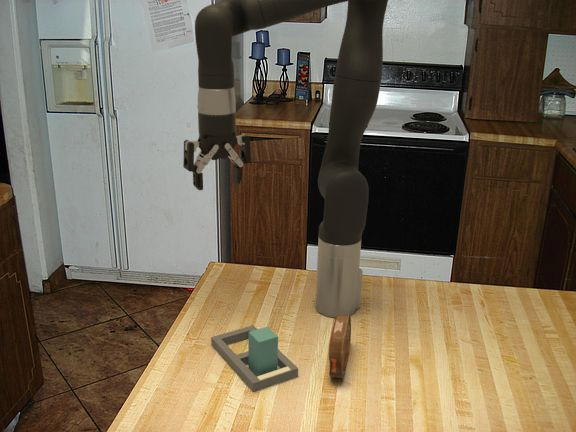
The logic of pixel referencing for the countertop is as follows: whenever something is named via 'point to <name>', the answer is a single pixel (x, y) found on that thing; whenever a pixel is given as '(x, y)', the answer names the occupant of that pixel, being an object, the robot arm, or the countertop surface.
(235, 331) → the frame
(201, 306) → the countertop surface
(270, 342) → the block
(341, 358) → the tin
